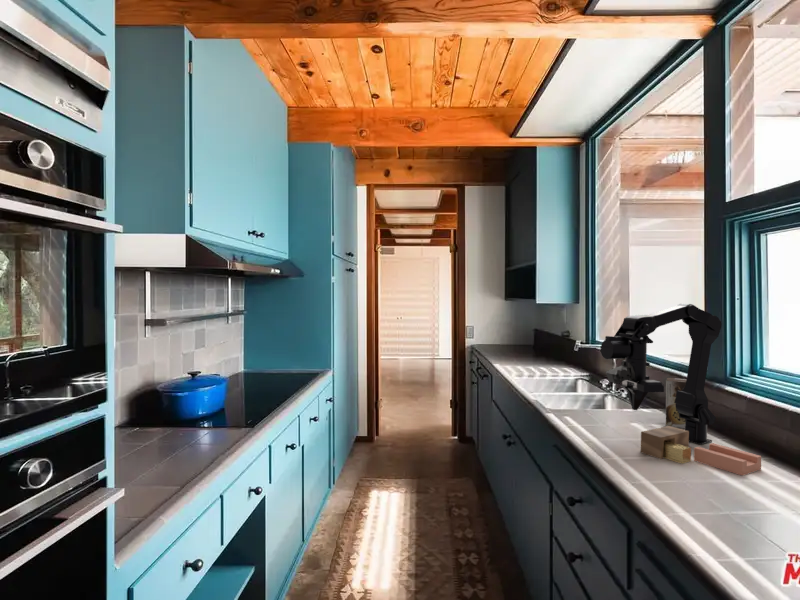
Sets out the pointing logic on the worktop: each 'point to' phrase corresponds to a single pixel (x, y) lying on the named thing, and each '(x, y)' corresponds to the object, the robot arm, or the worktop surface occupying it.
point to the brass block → (676, 452)
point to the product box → (671, 411)
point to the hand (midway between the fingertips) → (634, 409)
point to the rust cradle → (728, 459)
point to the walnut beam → (662, 439)
